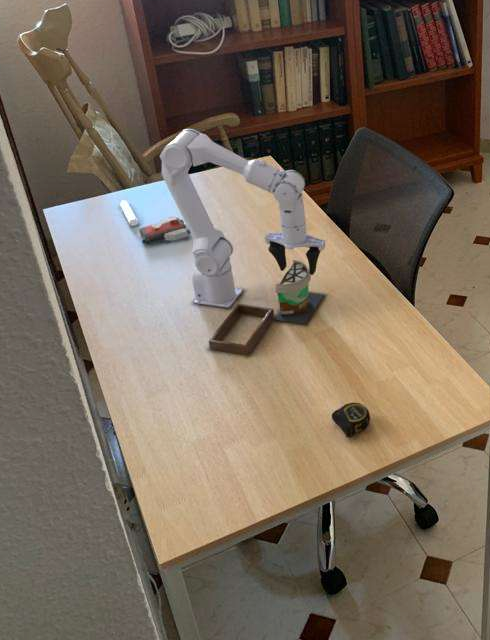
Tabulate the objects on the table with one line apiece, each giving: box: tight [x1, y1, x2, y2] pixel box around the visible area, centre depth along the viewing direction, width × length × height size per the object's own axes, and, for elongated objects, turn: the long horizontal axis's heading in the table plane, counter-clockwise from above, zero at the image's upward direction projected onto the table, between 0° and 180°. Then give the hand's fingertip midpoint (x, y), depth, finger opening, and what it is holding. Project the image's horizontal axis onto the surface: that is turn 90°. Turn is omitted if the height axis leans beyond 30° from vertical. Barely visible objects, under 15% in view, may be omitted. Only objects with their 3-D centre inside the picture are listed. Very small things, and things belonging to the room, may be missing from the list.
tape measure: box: [331, 402, 371, 439], centre depth 162 cm, size 7×7×4 cm
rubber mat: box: [274, 291, 325, 326], centre depth 198 cm, size 8×13×1 cm, turn 167°
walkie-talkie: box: [138, 216, 191, 245], centre depth 227 cm, size 9×4×20 cm
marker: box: [119, 200, 139, 227], centre depth 238 cm, size 3×2×16 cm
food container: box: [275, 259, 312, 316], centre depth 195 cm, size 12×6×10 cm, turn 168°
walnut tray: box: [208, 303, 276, 356], centre depth 188 cm, size 9×15×2 cm, turn 167°
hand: (298, 270), depth 194 cm, fingers open, 7 cm apart
